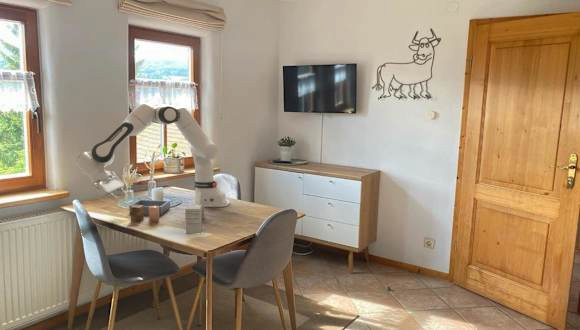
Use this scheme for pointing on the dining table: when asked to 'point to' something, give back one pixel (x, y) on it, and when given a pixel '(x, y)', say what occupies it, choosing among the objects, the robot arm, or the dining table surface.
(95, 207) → the dining table surface
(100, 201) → the dining table surface
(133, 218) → the walnut block
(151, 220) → the ball
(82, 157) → the robot arm
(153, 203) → the box
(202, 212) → the round bodied animal figurine
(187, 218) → the supplement box
